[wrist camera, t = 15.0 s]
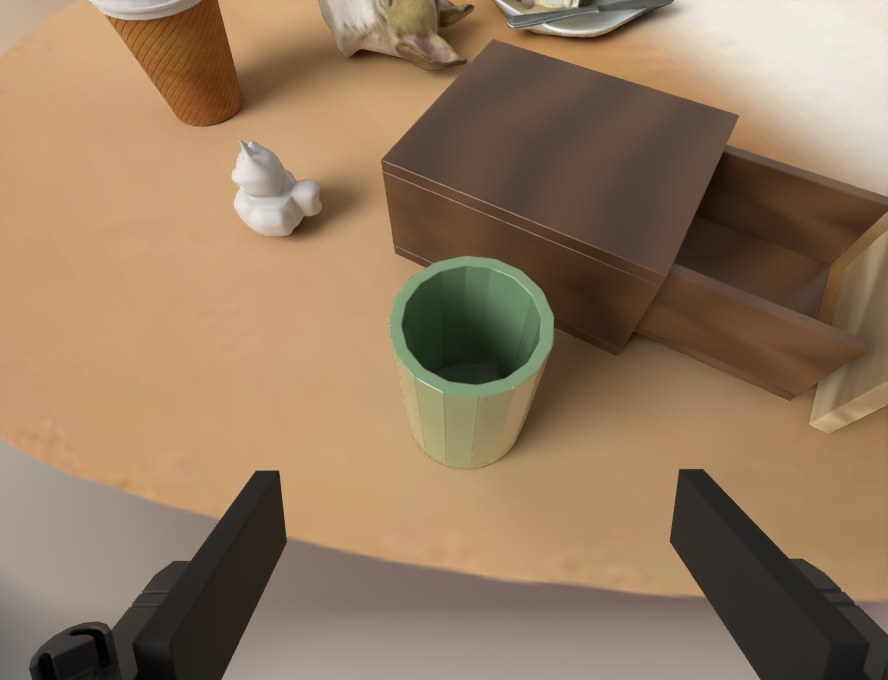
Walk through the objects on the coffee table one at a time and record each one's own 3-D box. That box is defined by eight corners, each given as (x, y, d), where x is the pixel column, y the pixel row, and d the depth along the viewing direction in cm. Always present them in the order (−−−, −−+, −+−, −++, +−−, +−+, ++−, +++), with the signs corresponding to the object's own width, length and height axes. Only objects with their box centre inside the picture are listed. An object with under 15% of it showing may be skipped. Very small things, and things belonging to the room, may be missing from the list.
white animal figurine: (250, 199, 41) (209, 112, 34) (331, 196, 41) (306, 108, 34) (241, 251, 38) (194, 168, 31) (327, 247, 38) (299, 163, 31)
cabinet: (683, 213, 39) (739, 114, 32) (617, 355, 33) (667, 276, 25) (485, 139, 44) (492, 38, 36) (394, 253, 38) (380, 159, 30)
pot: (541, 393, 32) (580, 295, 22) (489, 491, 29) (508, 428, 19) (444, 344, 34) (441, 235, 24) (386, 432, 31) (356, 347, 21)
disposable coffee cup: (269, 74, 49) (220, -73, 39) (247, 139, 44) (184, -9, 34) (175, 74, 49) (101, -73, 39) (143, 137, 45) (49, -10, 34)
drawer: (958, 309, 33) (1069, 241, 27) (942, 486, 28) (1079, 448, 22) (636, 191, 39) (669, 113, 33) (568, 317, 34) (594, 250, 28)
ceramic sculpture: (321, -81, 46) (481, -64, 46) (334, 17, 54) (472, 32, 54) (292, -22, 41) (472, -2, 41) (311, 77, 49) (463, 94, 48)
